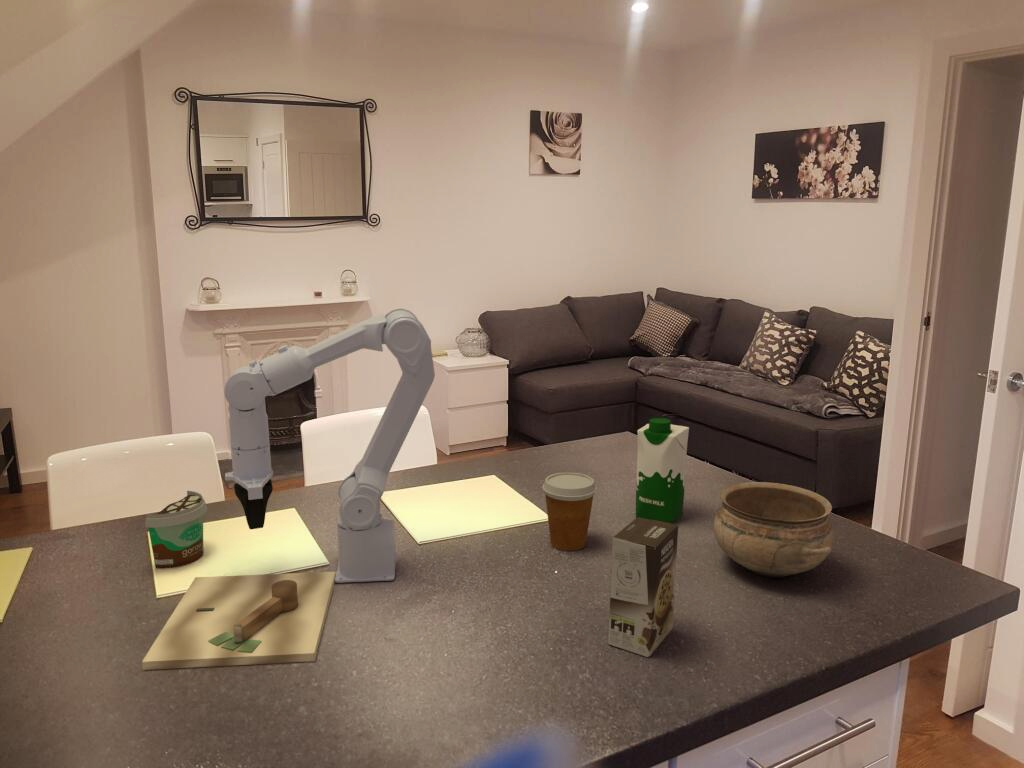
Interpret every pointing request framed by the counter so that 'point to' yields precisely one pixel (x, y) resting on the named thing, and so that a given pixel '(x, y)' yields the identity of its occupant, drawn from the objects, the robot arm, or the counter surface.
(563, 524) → the disposable coffee cup
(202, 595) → the dial board
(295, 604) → the tuning peg
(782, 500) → the cooking pot
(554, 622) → the counter surface
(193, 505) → the food container
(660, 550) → the coffee box
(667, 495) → the milk carton
